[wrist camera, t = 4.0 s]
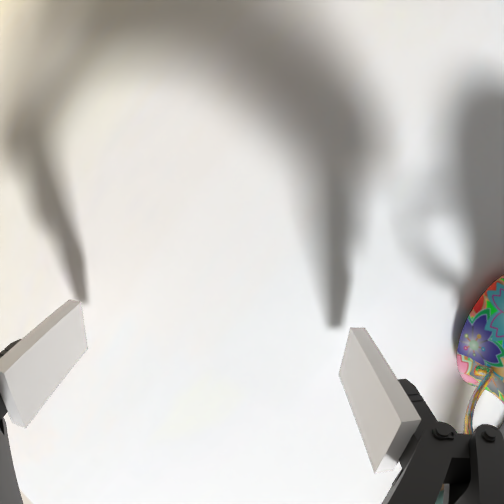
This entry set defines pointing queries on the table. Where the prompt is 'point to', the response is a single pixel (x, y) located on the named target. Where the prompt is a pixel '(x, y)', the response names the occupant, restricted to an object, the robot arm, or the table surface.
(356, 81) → the table surface
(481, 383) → the mug
